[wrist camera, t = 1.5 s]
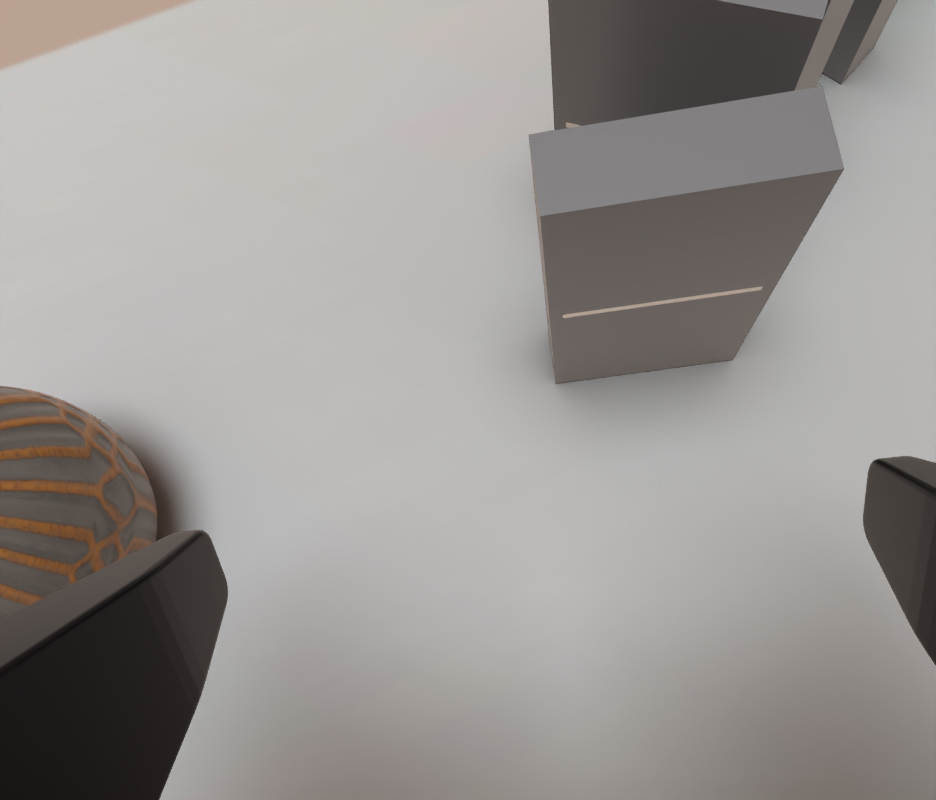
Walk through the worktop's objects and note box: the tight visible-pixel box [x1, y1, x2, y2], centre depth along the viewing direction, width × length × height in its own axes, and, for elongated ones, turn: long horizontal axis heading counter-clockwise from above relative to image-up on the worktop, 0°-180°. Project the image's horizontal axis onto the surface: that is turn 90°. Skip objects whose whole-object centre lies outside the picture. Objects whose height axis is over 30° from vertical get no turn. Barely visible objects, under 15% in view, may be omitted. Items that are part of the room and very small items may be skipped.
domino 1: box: [548, 0, 828, 130], centre depth 19 cm, size 2×5×10 cm, turn 71°
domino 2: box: [529, 86, 844, 384], centre depth 18 cm, size 2×5×10 cm, turn 96°
